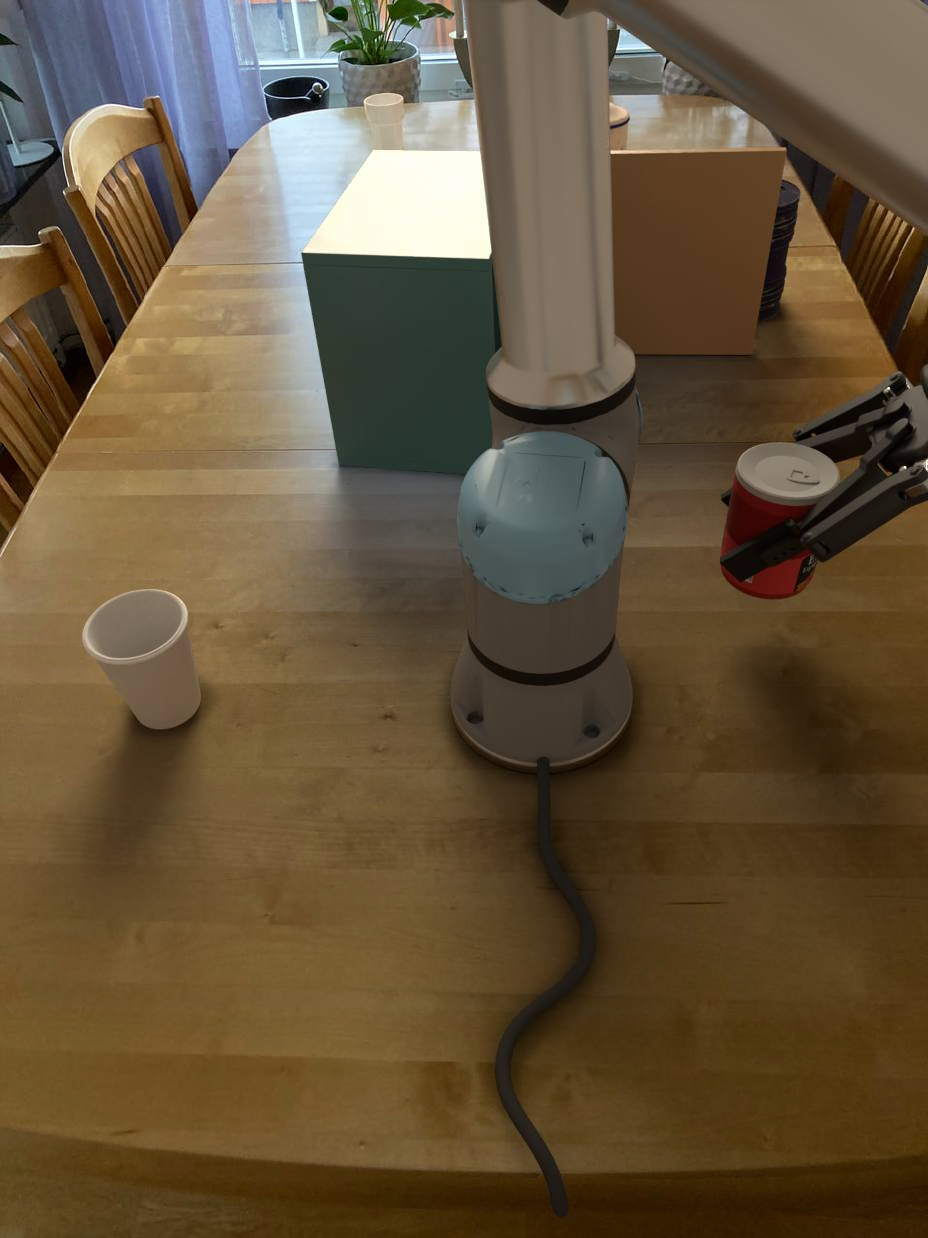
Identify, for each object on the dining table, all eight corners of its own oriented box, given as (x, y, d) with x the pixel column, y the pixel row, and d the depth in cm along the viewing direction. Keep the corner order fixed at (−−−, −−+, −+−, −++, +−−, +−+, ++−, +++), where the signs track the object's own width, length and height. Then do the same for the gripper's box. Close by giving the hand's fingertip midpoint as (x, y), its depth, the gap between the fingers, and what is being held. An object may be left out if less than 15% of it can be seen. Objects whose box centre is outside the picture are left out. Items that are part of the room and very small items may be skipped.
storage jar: (723, 329, 125) (741, 212, 114) (691, 295, 131) (704, 182, 121) (794, 315, 126) (817, 199, 115) (758, 282, 133) (777, 170, 122)
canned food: (814, 607, 81) (844, 503, 73) (716, 597, 82) (736, 494, 75) (810, 547, 86) (838, 445, 78) (718, 539, 88) (736, 437, 80)
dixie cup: (114, 685, 86) (76, 604, 79) (207, 657, 88) (178, 576, 81) (125, 754, 81) (85, 674, 74) (224, 723, 82) (195, 642, 75)
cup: (366, 172, 169) (358, 105, 162) (379, 159, 174) (372, 92, 166) (401, 175, 168) (395, 106, 160) (414, 161, 172) (408, 93, 164)
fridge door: (540, 327, 127) (540, 132, 110) (746, 327, 124) (779, 127, 107) (537, 353, 122) (537, 154, 105) (751, 354, 119) (786, 150, 102)
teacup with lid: (572, 162, 168) (573, 89, 159) (625, 160, 167) (629, 86, 159) (573, 189, 159) (575, 113, 151) (629, 188, 158) (634, 111, 150)
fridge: (532, 352, 123) (531, 151, 106) (497, 476, 105) (489, 258, 88) (395, 345, 126) (372, 149, 109) (338, 465, 108) (300, 252, 91)
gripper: (1058, 505, 63) (759, 648, 77) (998, 344, 77) (755, 491, 91) (998, 430, 60) (699, 593, 74) (948, 277, 74) (704, 439, 88)
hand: (730, 537), depth 82 cm, fingers closed on canned food, 8 cm apart
